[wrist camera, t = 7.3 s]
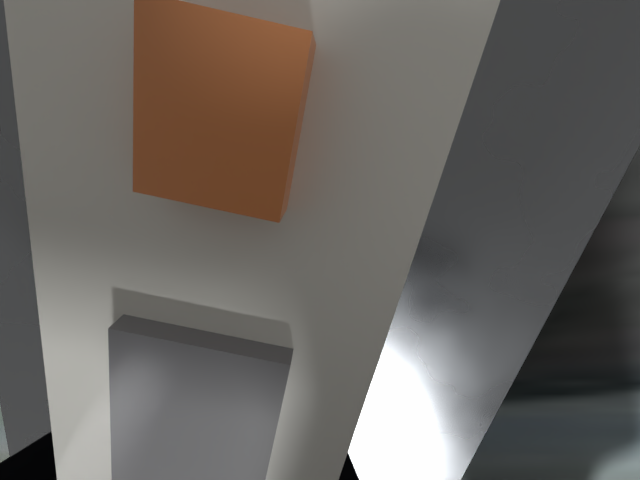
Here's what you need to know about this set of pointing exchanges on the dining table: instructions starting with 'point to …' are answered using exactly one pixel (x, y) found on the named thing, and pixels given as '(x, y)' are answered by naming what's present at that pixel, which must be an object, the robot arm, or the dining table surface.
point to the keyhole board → (434, 237)
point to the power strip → (227, 217)
